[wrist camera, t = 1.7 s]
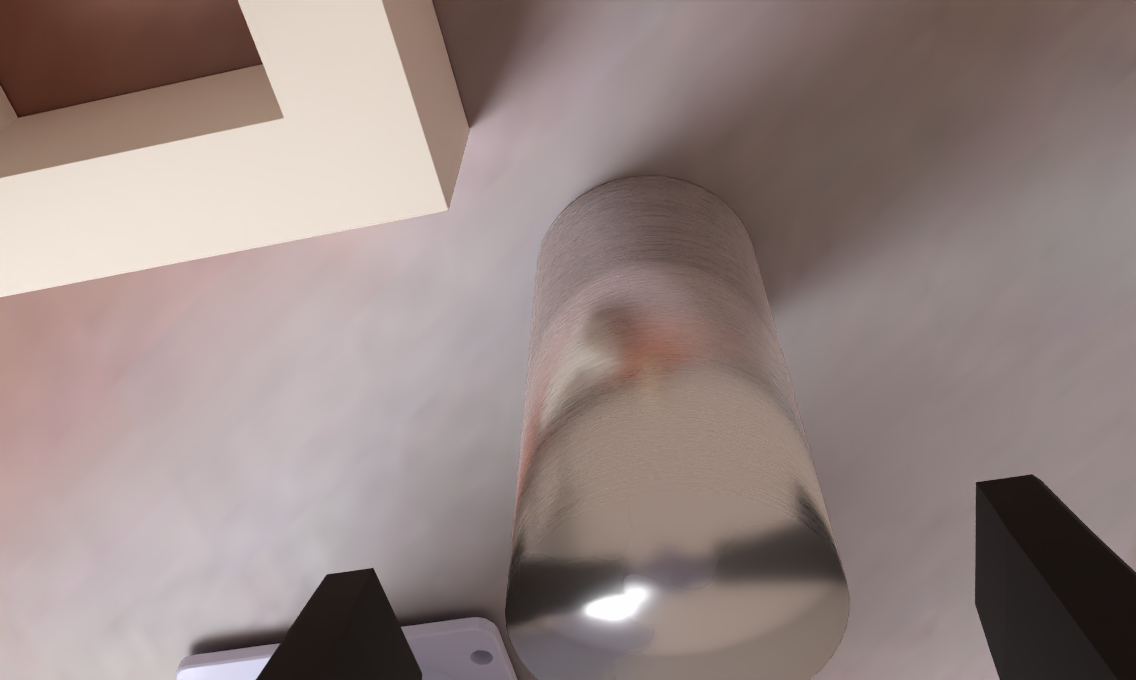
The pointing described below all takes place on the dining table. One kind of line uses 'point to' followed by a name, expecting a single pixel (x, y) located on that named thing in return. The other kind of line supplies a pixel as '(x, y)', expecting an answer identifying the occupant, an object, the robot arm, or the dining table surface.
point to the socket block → (239, 149)
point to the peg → (664, 457)
